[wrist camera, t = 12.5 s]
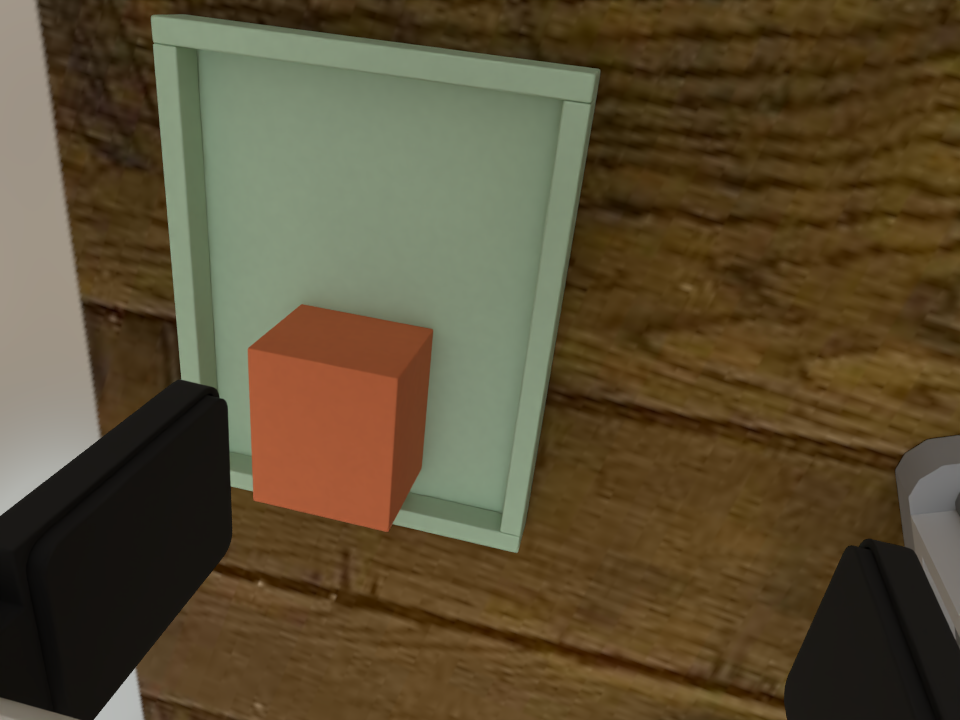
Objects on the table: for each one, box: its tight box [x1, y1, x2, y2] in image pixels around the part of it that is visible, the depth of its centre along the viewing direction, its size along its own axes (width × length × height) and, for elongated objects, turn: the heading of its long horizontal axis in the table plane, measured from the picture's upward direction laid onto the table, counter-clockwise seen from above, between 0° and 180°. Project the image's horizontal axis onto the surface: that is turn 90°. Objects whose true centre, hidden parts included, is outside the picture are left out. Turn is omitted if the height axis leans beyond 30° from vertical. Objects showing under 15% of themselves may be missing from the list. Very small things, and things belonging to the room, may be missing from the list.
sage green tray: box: [151, 14, 601, 553], centre depth 26 cm, size 17×14×2 cm
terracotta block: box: [248, 304, 433, 532], centre depth 26 cm, size 6×5×4 cm
